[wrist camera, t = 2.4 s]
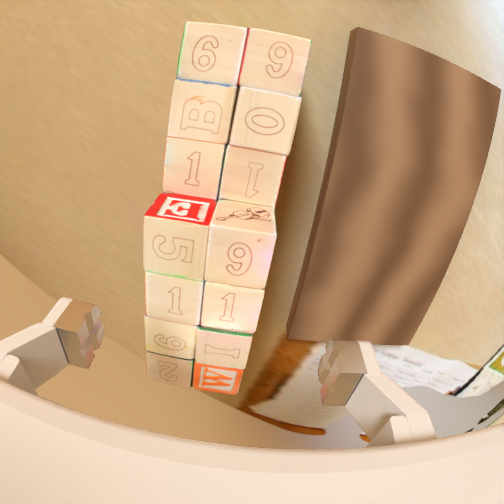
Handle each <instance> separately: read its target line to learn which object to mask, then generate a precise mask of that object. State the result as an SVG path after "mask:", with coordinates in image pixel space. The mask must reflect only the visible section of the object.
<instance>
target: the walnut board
mask: <svg viewBox="0 0 504 504" xmlns="http://www.w3.org/2000/svg"><path fill="white" fill-rule="evenodd" d="M500 94H501V89H499V88H498V87H496V86H494V85H492V84H491V83H489V82H487V81H486V80H484V79H482V78H480V77H478V76H477V75H475V74H473V73H471V72H469V71H467V70H465V69H463V68H461V67H459V66H457V65H455V64H453V63H451V62H449V61H447V60H445V59H443V58H440V57H438V56H436V55H434V54H431V53H429V52H427V51H424V50H422V49H420V48H417V47H415V46H412V45H410V44H407V43H404V42H402V41H399V40H396V39H393V38H391V37H388V36H385V35H382V34H379V33H376V32H373V31H370V30H366V29H363V28H360V27H357V28H355V29H353V30H352V31H350V37H349V43H348V50H347V56H346V62H345V68H344V74H343V80H342V86H341V91H340V97H339V102H338V108H337V113H336V118H335V123H334V128H333V134H332V139H331V144H330V148H329V153H328V158H327V163H326V168H325V172H324V177H323V181H322V186H321V190H320V195H319V199H318V204H317V208H316V212H315V217H314V221H313V225H312V229H311V233H310V238H309V242H308V246H307V250H306V254H305V258H304V262H303V266H302V270H301V274H300V277H299V281H298V285H297V289H296V293H295V296H294V300H293V304H292V308H291V311H290V315H289V318H288V322H287V335H288V339H294V340H306V341H320V342H328V341H329V340H330V339H335V340H352V341H370V342H371V344H381V345H409V343H410V342H411V340H412V338H413V336H414V334H415V333H416V331H417V329H418V327H419V325H420V324H421V322H422V320H423V318H424V316H425V314H426V312H427V310H428V308H429V307H430V305H431V303H432V301H433V299H434V297H435V295H436V293H437V290H438V288H439V286H440V284H441V282H442V280H443V278H444V276H445V273H446V271H447V269H448V267H449V264H450V262H451V260H452V257H453V255H454V253H455V250H456V248H457V245H458V243H459V241H460V238H461V235H462V233H463V230H464V228H465V225H466V222H467V220H468V217H469V214H470V211H471V208H472V205H473V202H474V200H475V196H476V193H477V190H478V187H479V184H480V181H481V177H482V174H483V170H484V167H485V163H486V160H487V156H488V152H489V148H490V144H491V140H492V135H493V131H494V126H495V122H496V117H497V111H498V106H499V100H500Z"/></svg>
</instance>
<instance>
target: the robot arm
mask: <svg viewBox="0 0 504 504" xmlns="http://www.w3.org/2000/svg"><path fill="white" fill-rule="evenodd" d="M100 315H101V312H100V308H99V306H97V305H94V304H90V303H86V302H83V301H79V300H75V299H74V300H73V299H70V298H66V297H62V298H60V299H59V301H58V302H57V303H56V305H55V306H54V307H53V308H52V310H51V311H50V312H49V314H48V315H47V316H46V318H45V319H44V321H43V322H42V323H36V324H34V325H32V326H30V327H28V328H26V329H24V330H22V331H20V332H17V333H15V334H13V335H11V336H9V337H7V338H5V339H3V340H1V341H0V504H504V423H502V424H498V425H495V426H491V427H487V428H484V429H480V430H476V431H471V432H467V433H463V434H458V435H454V436H449V437H443V438H438V439H437V438H436V435H435V433H434V429H433V426H432V423H431V421H430V418H429V415H428V412H427V411H426V410H425V409H423V408H422V407H421V406H420V405H419V404H418V403H417V402H415V401H414V400H413V399H412V398H411V397H410V396H409V395H408V394H407V393H405V392H404V391H403V390H402V389H401V388H400V387H399V386H398V385H396V384H395V383H394V382H393V381H392V380H391V379H390V378H389V377H388V376H386V375H385V374H381V371H380V368H379V365H378V362H377V359H376V356H375V353H374V350H373V347H372V344H371V342H370V341H352V340H335V339H330V340H329V341H328V342H327V345H326V352H327V353H325V354H324V355H322V357H321V360H320V362H319V368H318V376H319V381H320V382H321V383H322V384H323V386H322V388H321V390H320V391H321V398H322V405H333V406H345V408H346V409H347V411H348V412H349V413H350V415H351V416H352V417H353V418H354V420H355V421H356V422H357V424H358V425H359V426H360V427H361V429H362V430H363V431H364V432H365V434H366V435H367V436H368V438H369V439H370V440H371V442H370V443H369V444H368V445H367V446H366V447H365V448H348V449H281V448H263V447H250V446H240V445H229V444H221V443H213V442H207V441H199V440H193V439H187V438H182V437H177V436H171V435H166V434H161V433H157V432H152V431H147V430H143V429H139V428H135V427H130V426H127V425H123V424H119V423H116V422H112V421H108V420H105V419H102V418H98V417H95V416H92V415H89V414H86V413H83V412H80V411H76V410H74V409H71V408H68V407H65V406H62V405H60V404H57V403H54V402H52V401H49V400H47V399H44V398H42V397H39V396H38V394H37V392H36V391H35V389H37V388H38V387H39V386H41V385H42V384H43V383H45V382H46V381H48V380H49V379H50V378H51V377H53V376H54V375H56V374H57V373H59V372H60V371H61V370H63V369H64V368H65V367H67V366H68V365H69V364H71V365H75V366H78V367H82V368H86V369H89V367H90V365H91V363H92V361H93V359H94V357H95V355H94V350H96V349H98V348H99V347H100V345H101V343H102V340H103V336H104V327H103V323H102V322H101V321H100V319H99V317H100Z"/></svg>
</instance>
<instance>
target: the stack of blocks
mask: <svg viewBox="0 0 504 504" xmlns="http://www.w3.org/2000/svg"><path fill="white" fill-rule="evenodd" d="M311 45H312V40H310V39H306V38H301V37H297V36H293V35H288V34H283V33H278V32H273V31H268V30H263V29H257V28H244V27H238V26H231V25H223V24H211V23H200V22H186V24H185V28H184V33H183V39H182V44H181V50H180V55H179V61H178V68H177V78H176V79H175V81H174V86H173V93H172V100H171V108H170V116H169V124H168V132H167V134H168V136H167V140H166V148H165V157H164V170H163V191H164V192H163V193H162V194H160V195H159V196H158V197H157V199H156V200H155V202H154V203H153V204H152V206H151V207H150V208H149V209H148V211H147V212H146V213H145V215H144V270H145V296H146V313H145V317H144V318H145V339H146V368H147V378H148V379H149V380H152V381H157V382H161V383H166V384H170V385H175V386H180V387H185V388H190V387H191V386H192V387H193V388H194V389H198V390H203V391H210V392H217V393H225V394H233V395H236V394H238V391H239V387H240V383H241V379H242V376H243V372H244V369H245V368H246V364H247V360H248V356H249V351H250V347H251V343H252V337H253V333H254V332H255V331H256V328H257V325H258V320H259V316H260V312H261V307H262V303H263V299H264V293H265V286H266V283H267V279H268V274H269V270H270V265H271V261H272V257H273V252H274V248H275V243H276V239H277V231H276V219H275V206H276V202H277V198H278V194H279V189H280V185H281V181H282V176H283V172H284V168H285V164H286V159H287V156H288V155H289V154H290V151H291V146H292V142H293V138H294V134H295V130H296V125H297V121H298V116H299V111H300V107H301V102H302V97H301V96H300V94H301V90H302V86H303V81H304V77H305V72H306V68H307V63H308V58H309V54H310V49H311Z"/></svg>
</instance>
